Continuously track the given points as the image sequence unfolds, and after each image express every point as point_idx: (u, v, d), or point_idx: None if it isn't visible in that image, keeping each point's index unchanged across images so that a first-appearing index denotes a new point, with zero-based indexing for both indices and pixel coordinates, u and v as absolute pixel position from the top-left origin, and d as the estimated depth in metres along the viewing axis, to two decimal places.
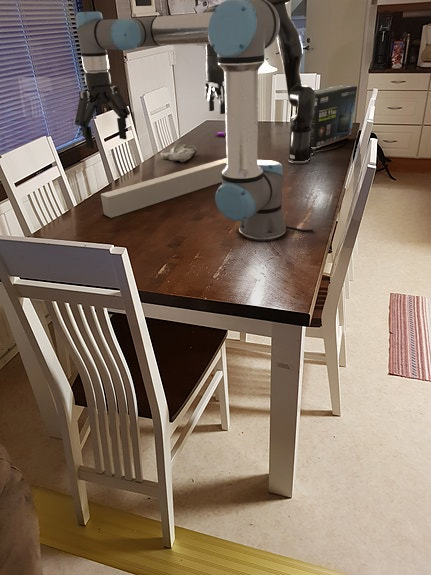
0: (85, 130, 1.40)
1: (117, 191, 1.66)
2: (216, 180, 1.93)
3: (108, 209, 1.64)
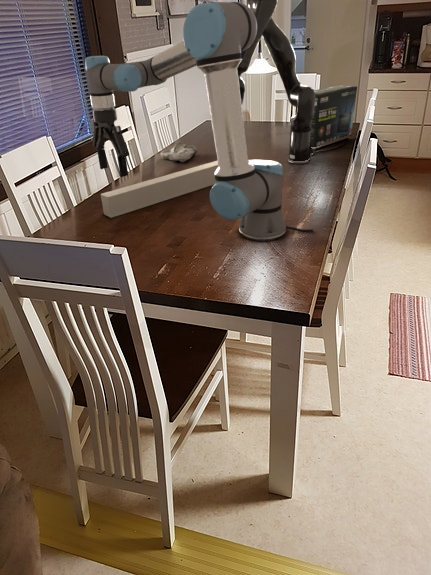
0: (98, 152, 1.64)
1: (117, 191, 1.66)
2: None
3: (108, 209, 1.64)
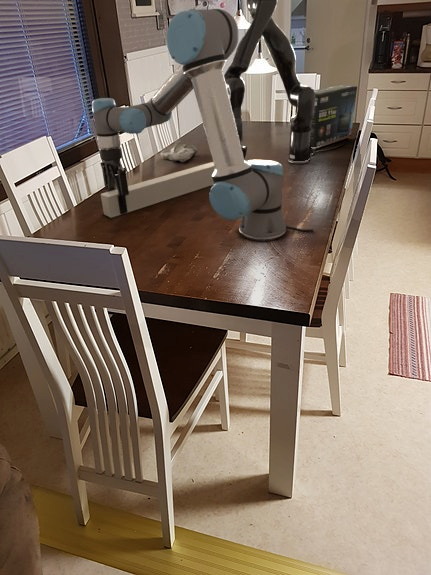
0: None
1: (117, 191, 1.66)
2: None
3: (108, 209, 1.64)
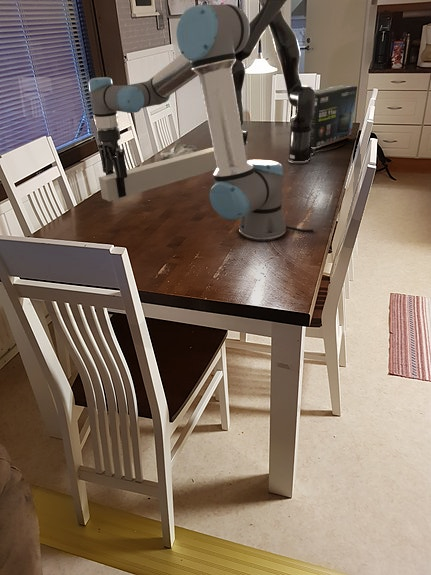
0: None
1: (115, 174, 1.63)
2: None
3: (106, 193, 1.61)
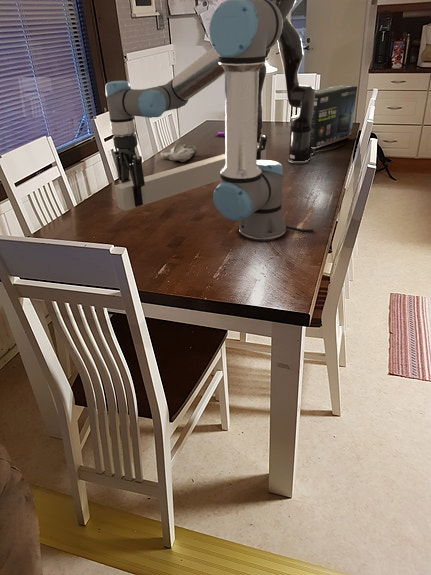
0: None
1: (132, 182, 1.55)
2: None
3: (122, 202, 1.53)
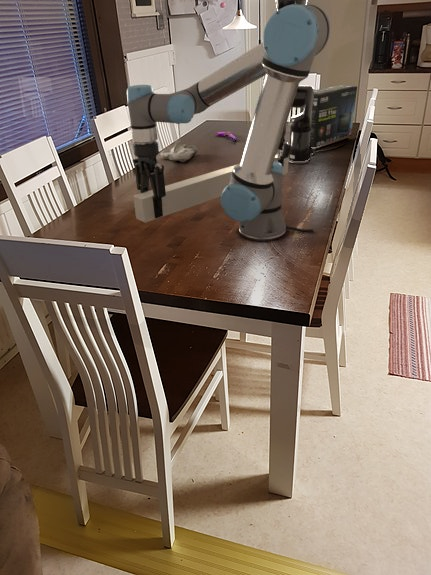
0: None
1: (151, 192, 1.46)
2: None
3: (142, 213, 1.44)
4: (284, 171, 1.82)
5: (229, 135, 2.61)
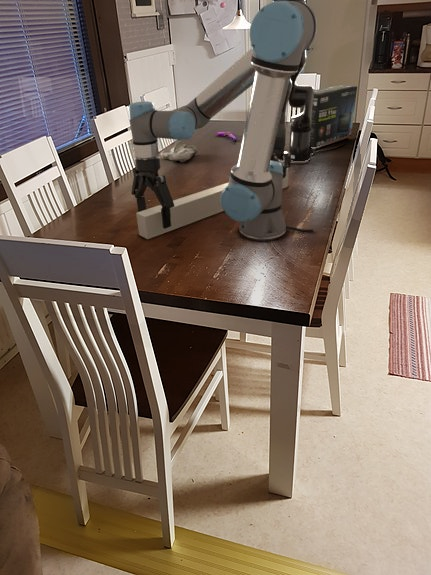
0: (137, 200, 1.52)
1: (154, 209, 1.49)
2: None
3: (144, 230, 1.47)
4: (284, 185, 1.85)
5: (229, 135, 2.61)
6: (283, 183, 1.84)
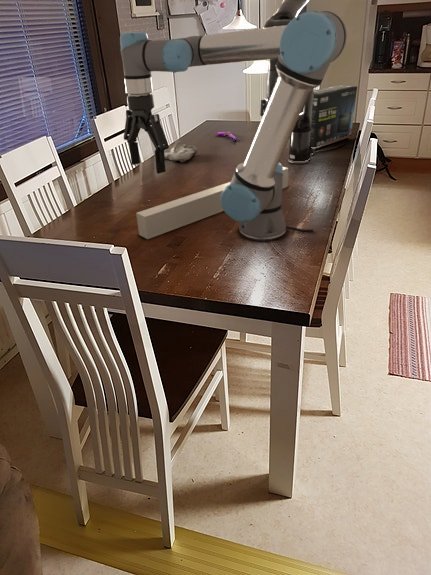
0: None
1: (154, 209, 1.49)
2: None
3: (144, 230, 1.47)
4: (284, 185, 1.85)
5: (229, 135, 2.61)
6: (283, 183, 1.84)
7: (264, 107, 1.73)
